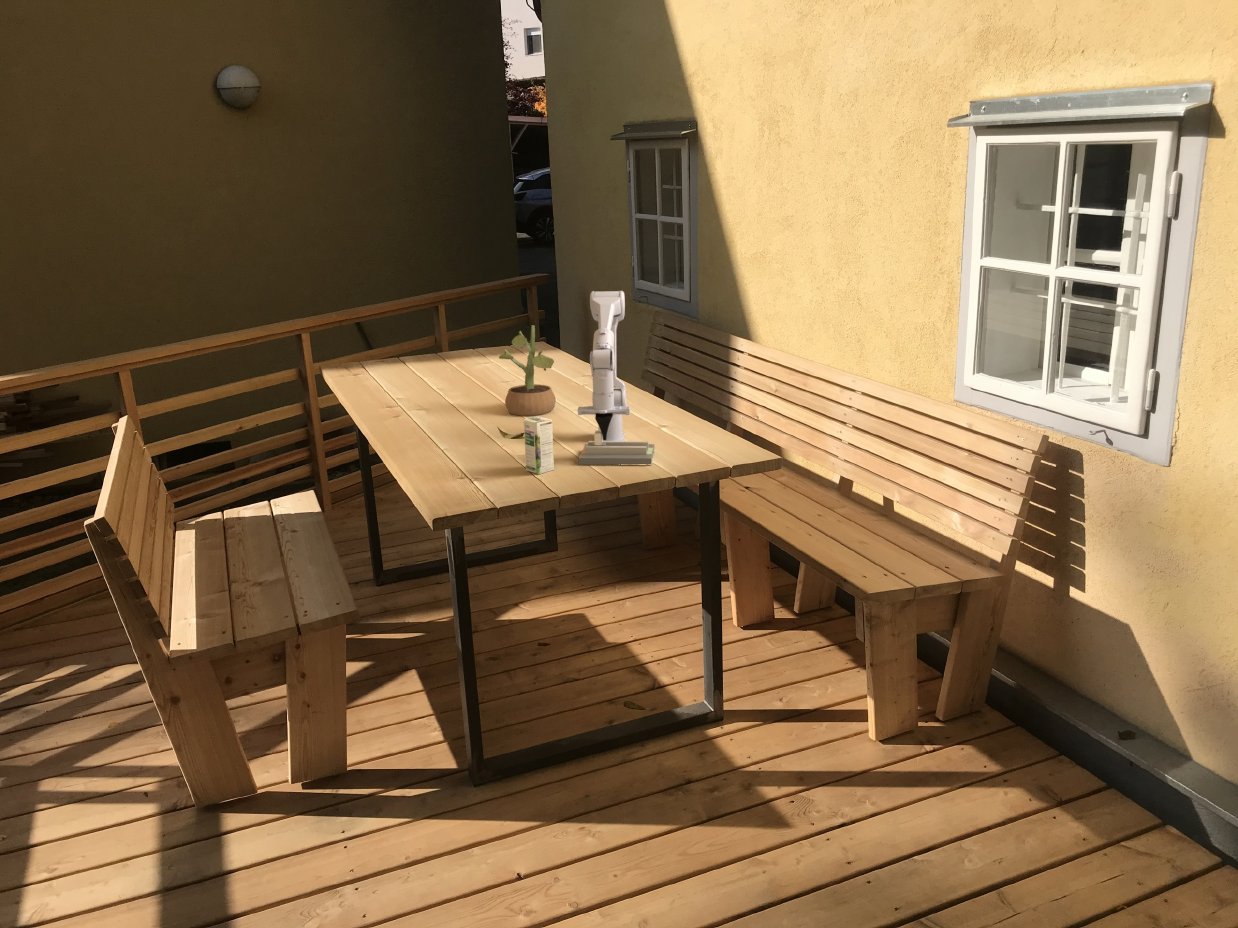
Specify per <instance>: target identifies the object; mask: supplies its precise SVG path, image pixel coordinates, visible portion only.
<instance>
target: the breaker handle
mask: <svg viewBox="0 0 1238 928" xmlns="http://www.w3.org/2000/svg"><path fill="white" fill-rule="evenodd" d="M593 437H594V441H595V442H592V444H591V446H606V442H603V441H602V432H601V430H598V429H596V430H595V431H594V435H593Z"/></svg>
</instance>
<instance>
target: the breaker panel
mask: <svg viewBox="0 0 1238 928" xmlns="http://www.w3.org/2000/svg"><path fill="white" fill-rule="evenodd" d="M592 442H595V440H588V442H587V443H585V444H584V446H583V448H582V450H581V452H580V454H579V457H578V465H579V466H612V465H611V464H614V465H613V466H622V465H621V464H651V462H652V463H653V460H652V458H653V459H654V455H655V451H654V450H655V443H654V444H653V443H650V444H649V440H646V441H645V440H637V441H636V440H623V441H603V442H606V446H591V444H592ZM653 454H654V455H653ZM618 464H620V465H618ZM651 465H652V464H651Z"/></svg>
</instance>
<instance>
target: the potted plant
mask: <svg viewBox="0 0 1238 928" xmlns="http://www.w3.org/2000/svg"><path fill="white" fill-rule="evenodd" d="M535 340H536V328H535V325H531V329H530V343H529V341H528V338H527V337H525V335H524V334H523V333H522V330H519V331H518V334H517V335H516V336H515V337H514V338H513V339H512V340H511V344H512V346H513V347H516V348H517V347H518V348H521V349H523V348H524V346H526V347H527V349H528V350H529V351H528V355H527V362H526V365H525V364H523V363H521V362H520V361H519V360H517V359H516V358H515V357H514V356H513V355H512V354H511V353H510V352H509V351H508V350H507V348H505V349H504V350H503V351H504V353H502V354H501V355H499V356H498V359H500V360H510V361H511V362H513V364H515V365H516V366H517V367H518V368H520V369H522V371H523V372H524V373H525V377H524V384H520V385H514V386H511V387H510V388H509V389H508V391H507V395H506V396H505V402H504V403H505V407H506V409H507V411H508V412H509V413H510V414H512V415H514V416H521V417H537V416H542V415H547V414H549V413H551V412H552V411H553V410H554V408H555V407H556V406H555V405H556V402H557V401H556V395H555V394H554V392H553V389H552V387H551V386H549V385H546V384H539V383H538V384H536V383H535V380H534V377H535V369H534V368H535V367H537V368H538V369H543V371H545V372H546V371H547V369H552V366H553V364H554V363H555V360H554V359H553V358H551V357H548V356H546V355H544V354H542V353H543V351H544V349H541V350H540V351H539V352H538V354H537V355H536V343H535V342H536V341H535ZM535 355H536V356H535Z"/></svg>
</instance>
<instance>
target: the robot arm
mask: <svg viewBox="0 0 1238 928" xmlns="http://www.w3.org/2000/svg"><path fill="white" fill-rule="evenodd" d="M625 297H626V295H625V292H624V291H623V290H617V291H616V290H615V291H613V290H611V291H610V290H609V291H607V290H606V291H594V290H592V291H591V292H590V297H589V306H590V307H589V308H590V311H591V316H592V319H593V320H594V321H596V322H597V323H598V324H597V326H598V329H596V330H595V331H594V334H593V340H592V341H593V342H592V343H593V344H592V350H591V351H590V354H589V365H590V370H591V372H590V373H591V378H592V398H591V399H592V401H591V402H592V405H589V406H578V407H577V415H578V416H583V415H584V416H585V415H586V416H587V415H588V416H589V415H594V419H595V421H596V423H597V424H598V425H597V427H598V429H597V430H601V432H602V441H625V440H624V439H625V437H626V432H623V415H625V416H630V415H631V406H627V388H626V384H625V382H624V381H623V380H621V379H620V378H618V377H617V328H618V324H619V322H621V321H623V320H624V319H625V318H624V317H625V315H626V313H625V311H626V310H625V307H626V303H625V302H626V301H625V299H626V298H625Z"/></svg>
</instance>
